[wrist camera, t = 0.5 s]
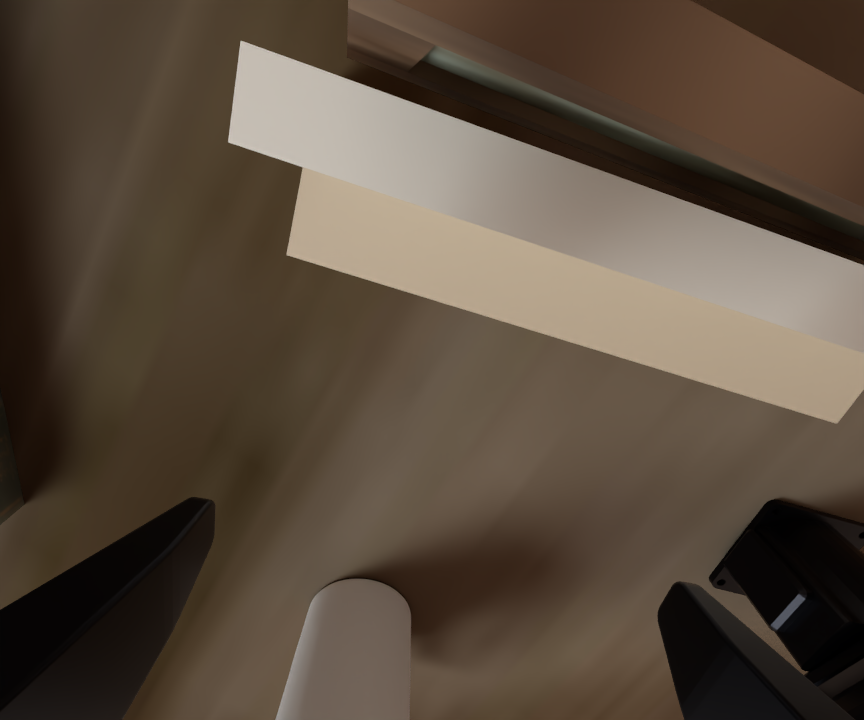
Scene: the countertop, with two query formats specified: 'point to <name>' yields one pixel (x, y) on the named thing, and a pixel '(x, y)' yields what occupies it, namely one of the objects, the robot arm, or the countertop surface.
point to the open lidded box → (8, 472)
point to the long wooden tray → (552, 241)
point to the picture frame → (644, 96)
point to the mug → (352, 656)
